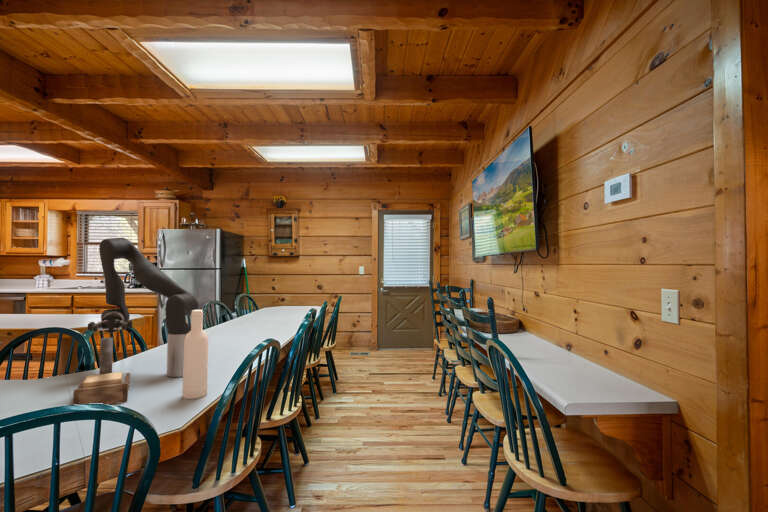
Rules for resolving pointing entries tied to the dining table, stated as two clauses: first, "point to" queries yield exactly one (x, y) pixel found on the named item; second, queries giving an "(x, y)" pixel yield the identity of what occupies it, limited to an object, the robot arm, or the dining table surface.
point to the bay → (102, 393)
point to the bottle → (195, 359)
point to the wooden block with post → (104, 367)
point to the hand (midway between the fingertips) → (109, 328)
